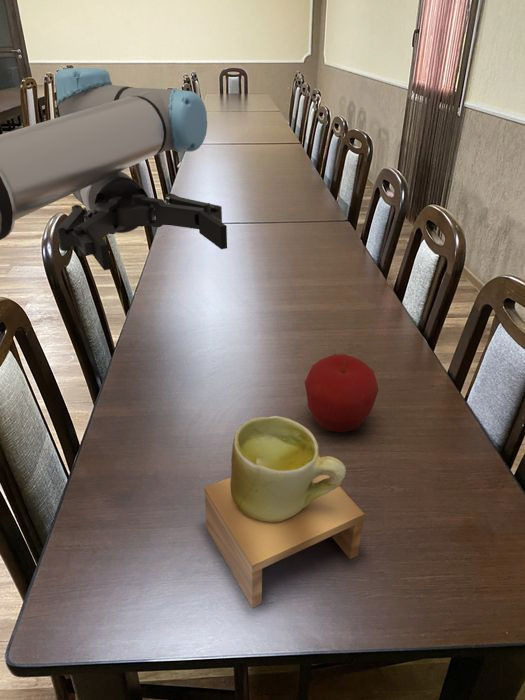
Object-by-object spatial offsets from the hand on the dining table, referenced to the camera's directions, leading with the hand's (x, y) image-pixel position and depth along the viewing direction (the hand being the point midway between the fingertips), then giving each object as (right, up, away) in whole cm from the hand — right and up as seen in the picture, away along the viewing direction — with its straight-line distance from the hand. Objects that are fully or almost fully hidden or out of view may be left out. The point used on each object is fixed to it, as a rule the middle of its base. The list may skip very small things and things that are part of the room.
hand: (167, 247), depth 59 cm
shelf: (+13, -34, +5) cm, 37 cm away
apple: (+22, -23, +25) cm, 40 cm away
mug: (+13, -28, +2) cm, 31 cm away
